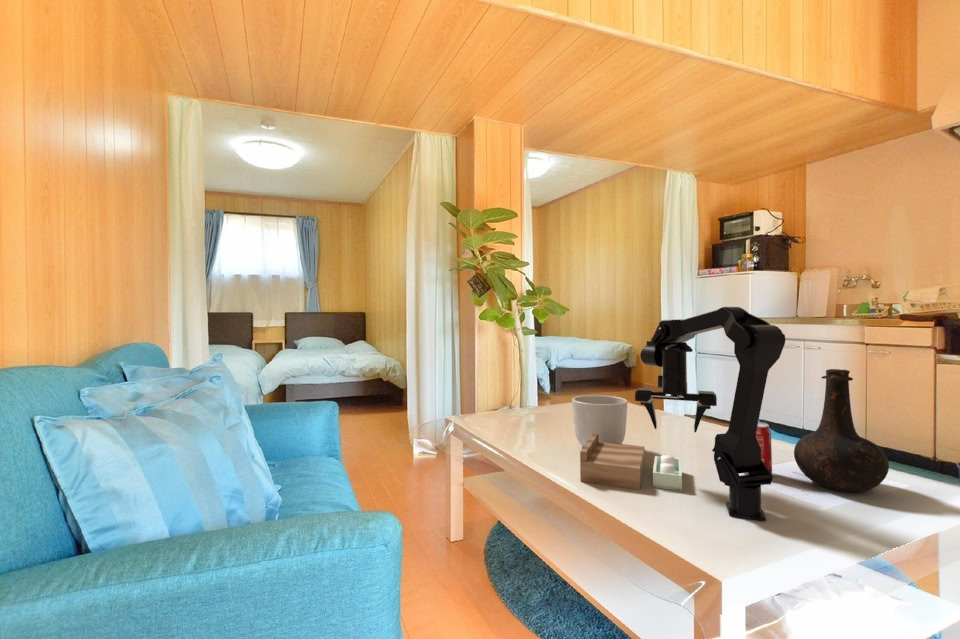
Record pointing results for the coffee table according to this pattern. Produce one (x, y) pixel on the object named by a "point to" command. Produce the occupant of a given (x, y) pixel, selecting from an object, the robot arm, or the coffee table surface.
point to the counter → (612, 463)
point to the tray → (667, 477)
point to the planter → (600, 418)
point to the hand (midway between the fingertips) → (675, 430)
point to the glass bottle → (840, 445)
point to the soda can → (764, 444)
